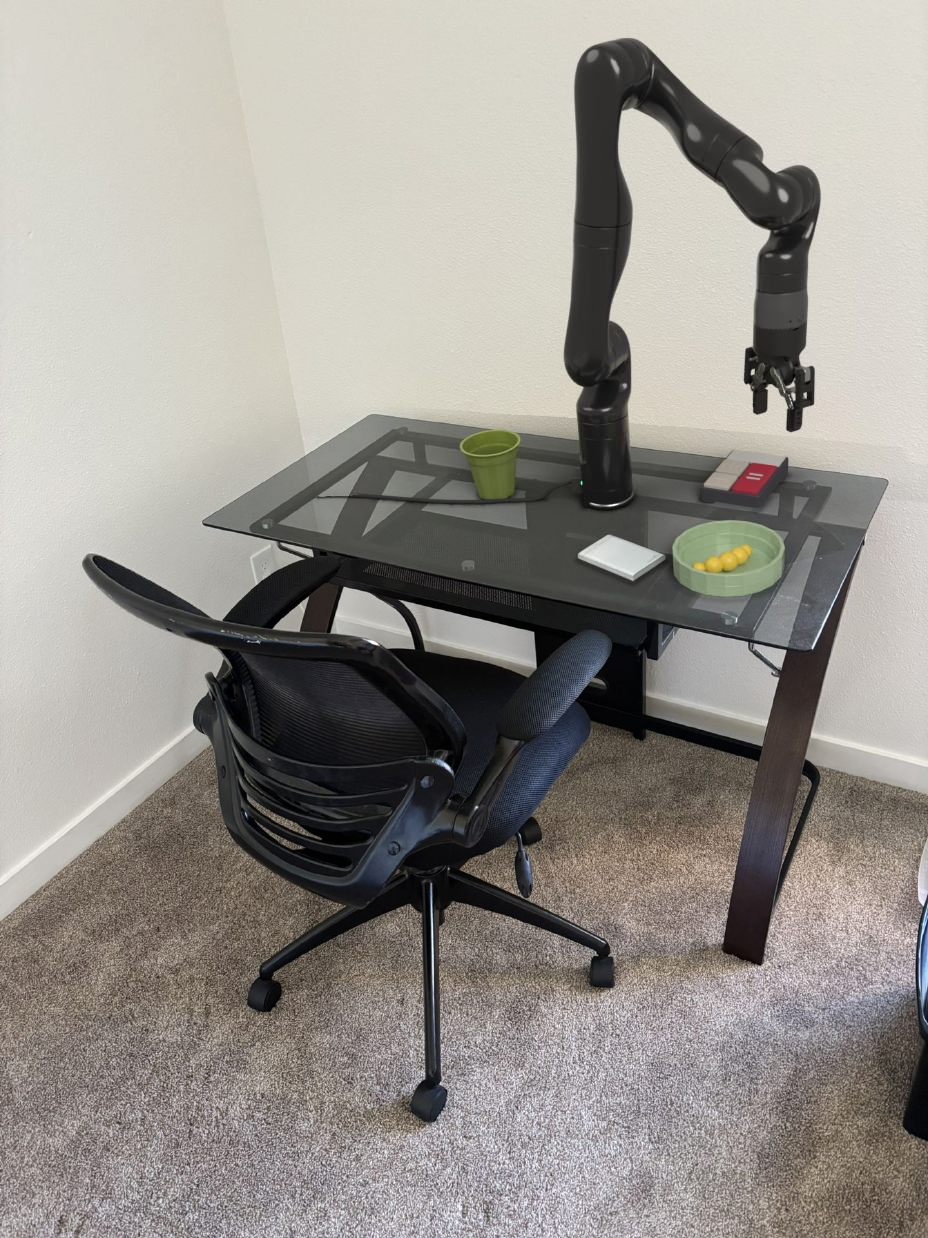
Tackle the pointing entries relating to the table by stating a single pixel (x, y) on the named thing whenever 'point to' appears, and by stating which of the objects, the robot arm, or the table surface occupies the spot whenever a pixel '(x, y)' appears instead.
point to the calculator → (745, 479)
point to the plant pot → (492, 462)
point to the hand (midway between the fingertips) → (776, 421)
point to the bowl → (723, 538)
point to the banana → (725, 560)
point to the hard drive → (621, 557)
